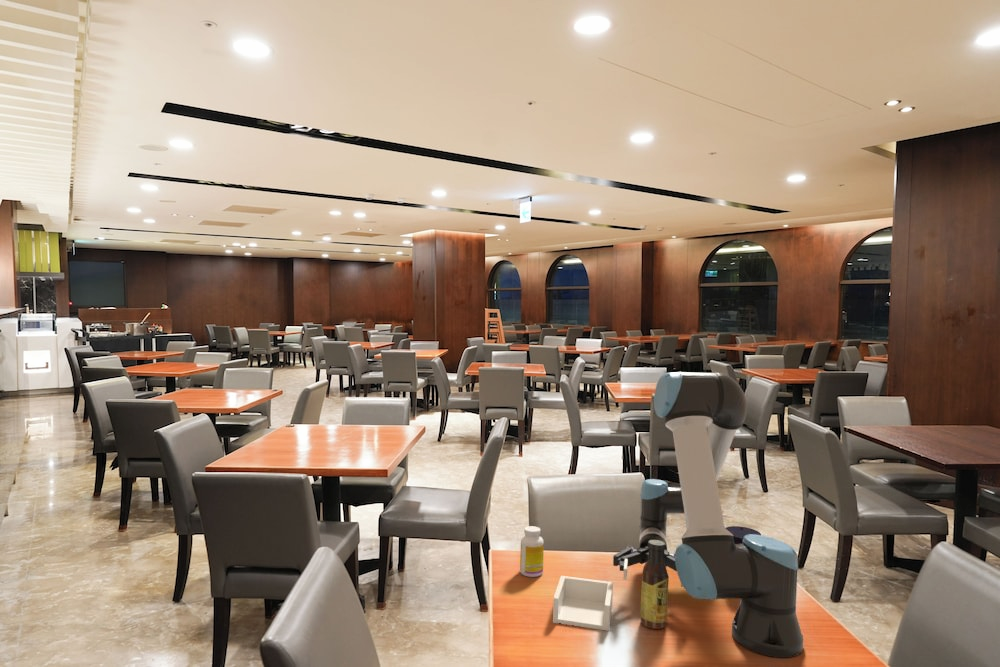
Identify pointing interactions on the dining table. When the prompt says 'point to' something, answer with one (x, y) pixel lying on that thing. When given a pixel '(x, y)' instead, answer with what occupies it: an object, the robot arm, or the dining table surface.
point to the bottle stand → (583, 603)
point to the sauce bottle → (654, 587)
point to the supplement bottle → (531, 552)
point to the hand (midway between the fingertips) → (653, 577)
